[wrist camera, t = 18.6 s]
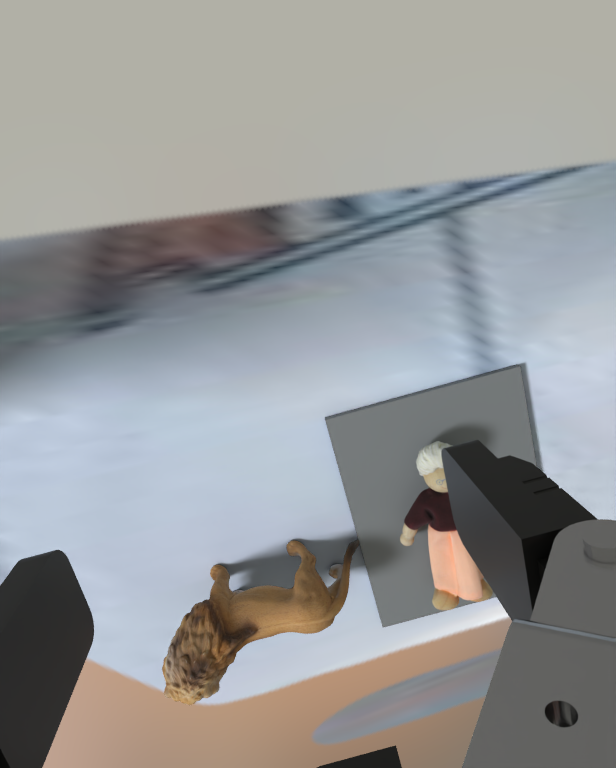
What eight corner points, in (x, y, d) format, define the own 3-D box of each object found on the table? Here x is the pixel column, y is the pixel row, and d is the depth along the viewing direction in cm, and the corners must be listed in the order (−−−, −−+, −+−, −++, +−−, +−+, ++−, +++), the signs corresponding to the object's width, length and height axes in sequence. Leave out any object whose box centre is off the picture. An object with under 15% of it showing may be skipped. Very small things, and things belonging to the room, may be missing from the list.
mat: (381, 623, 44) (382, 627, 44) (324, 417, 39) (325, 420, 39) (552, 577, 44) (555, 581, 43) (517, 364, 39) (520, 366, 38)
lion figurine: (198, 635, 43) (179, 737, 35) (165, 582, 42) (137, 675, 33) (370, 562, 43) (395, 648, 34) (343, 506, 41) (362, 580, 33)
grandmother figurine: (432, 628, 39) (395, 474, 35) (410, 594, 43) (374, 450, 39) (529, 588, 40) (503, 434, 36) (500, 558, 44) (474, 415, 40)
